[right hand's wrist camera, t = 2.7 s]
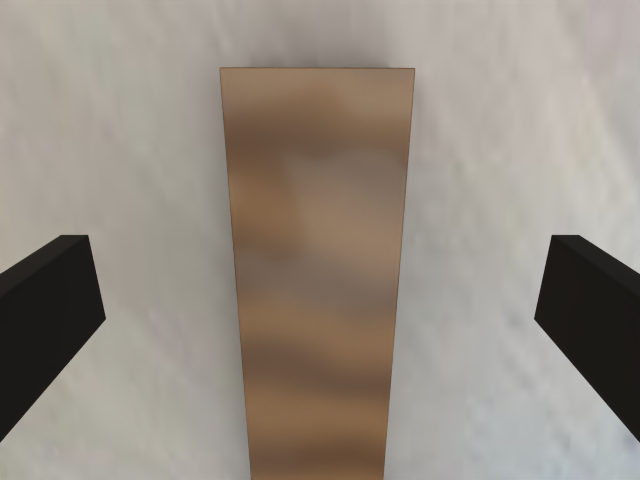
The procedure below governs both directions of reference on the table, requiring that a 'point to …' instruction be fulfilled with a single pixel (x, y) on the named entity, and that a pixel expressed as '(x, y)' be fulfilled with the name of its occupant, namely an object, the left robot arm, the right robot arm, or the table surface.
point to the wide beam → (317, 260)
